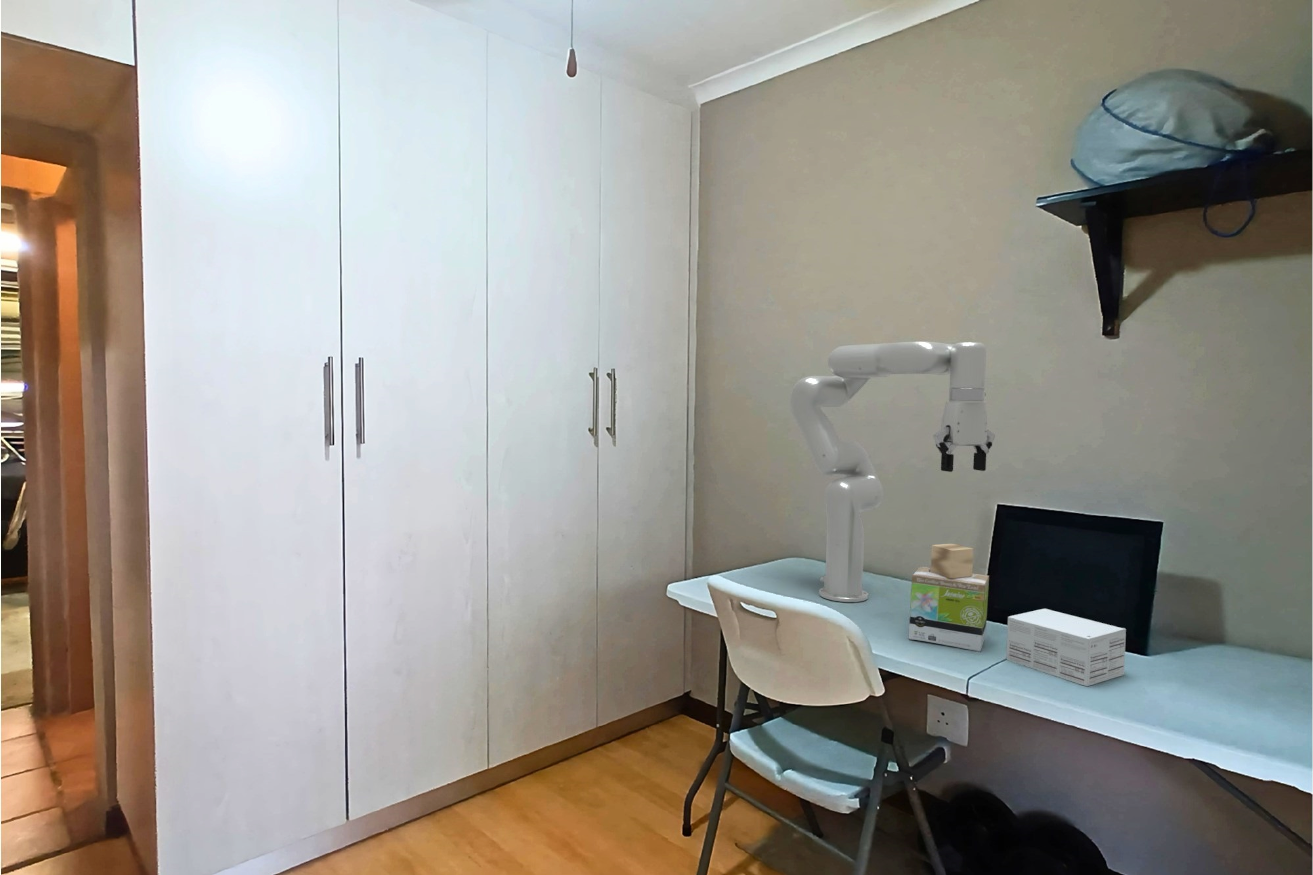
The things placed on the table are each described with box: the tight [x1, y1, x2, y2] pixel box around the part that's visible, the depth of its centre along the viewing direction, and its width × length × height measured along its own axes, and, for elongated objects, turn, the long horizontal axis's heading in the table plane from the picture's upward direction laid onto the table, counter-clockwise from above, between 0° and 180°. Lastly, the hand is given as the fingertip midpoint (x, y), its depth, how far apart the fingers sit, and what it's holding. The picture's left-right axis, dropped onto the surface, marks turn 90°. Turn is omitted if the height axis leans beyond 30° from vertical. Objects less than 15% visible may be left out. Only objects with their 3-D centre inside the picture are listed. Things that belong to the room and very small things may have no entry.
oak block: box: [930, 543, 974, 578], centre depth 167 cm, size 6×6×6 cm
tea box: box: [908, 566, 990, 653], centre depth 168 cm, size 15×10×15 cm, turn 62°
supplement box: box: [1005, 608, 1127, 687], centre depth 153 cm, size 17×13×9 cm
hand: (963, 470), depth 177 cm, fingers open, 9 cm apart
